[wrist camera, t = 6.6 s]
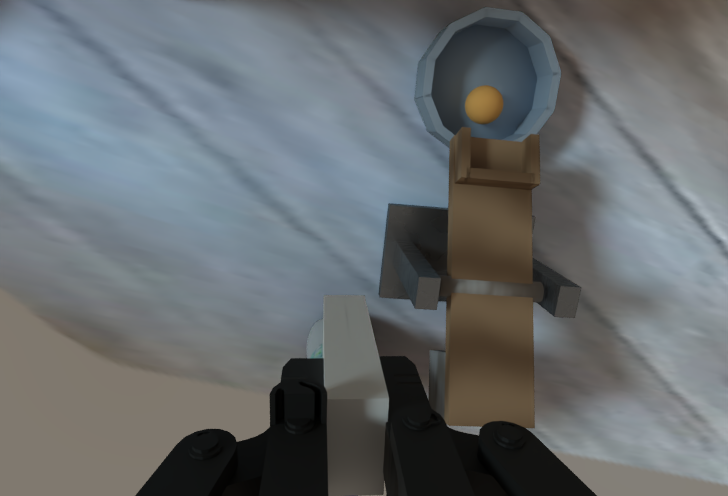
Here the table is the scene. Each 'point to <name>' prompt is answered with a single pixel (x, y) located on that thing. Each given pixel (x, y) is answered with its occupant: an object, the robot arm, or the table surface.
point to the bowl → (488, 75)
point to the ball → (484, 104)
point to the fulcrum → (445, 262)
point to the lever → (488, 284)
